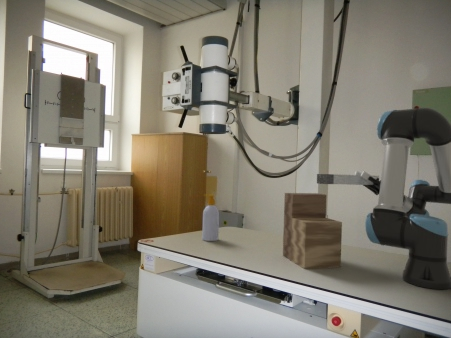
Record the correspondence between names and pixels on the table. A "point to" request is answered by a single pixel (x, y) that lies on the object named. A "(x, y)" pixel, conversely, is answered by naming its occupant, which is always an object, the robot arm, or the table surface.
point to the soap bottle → (210, 221)
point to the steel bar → (342, 179)
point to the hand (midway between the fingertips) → (358, 173)
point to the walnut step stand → (310, 232)
